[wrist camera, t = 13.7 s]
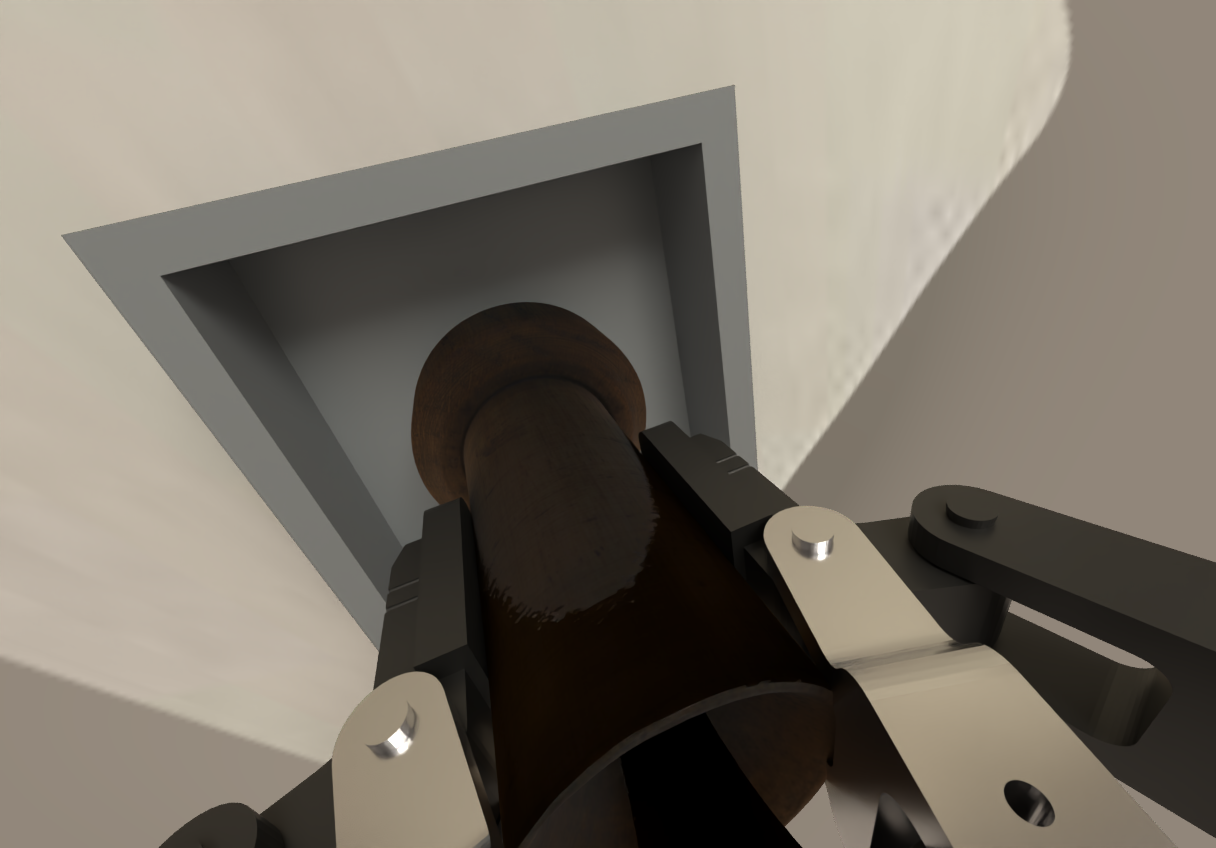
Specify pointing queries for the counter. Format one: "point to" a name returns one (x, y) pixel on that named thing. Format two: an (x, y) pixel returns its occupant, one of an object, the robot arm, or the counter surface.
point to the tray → (437, 305)
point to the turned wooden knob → (609, 607)
